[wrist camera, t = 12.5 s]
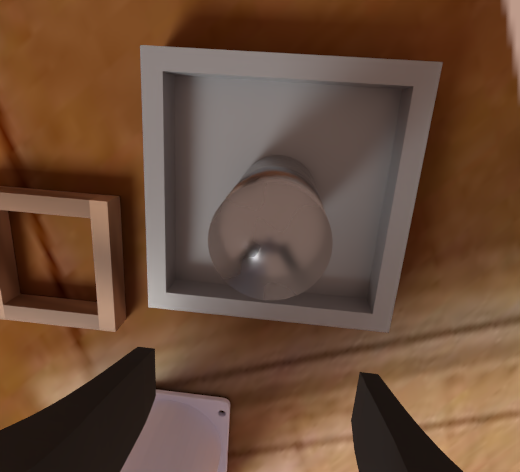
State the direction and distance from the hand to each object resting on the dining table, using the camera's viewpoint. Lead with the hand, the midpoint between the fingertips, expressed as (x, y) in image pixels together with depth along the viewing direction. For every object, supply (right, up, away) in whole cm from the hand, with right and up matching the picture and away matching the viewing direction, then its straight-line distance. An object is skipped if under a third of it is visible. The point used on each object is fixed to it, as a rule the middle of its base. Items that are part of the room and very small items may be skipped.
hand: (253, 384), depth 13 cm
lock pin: (+1, +7, +7) cm, 10 cm away
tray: (+1, +8, +7) cm, 11 cm away
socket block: (-12, +4, +10) cm, 16 cm away
